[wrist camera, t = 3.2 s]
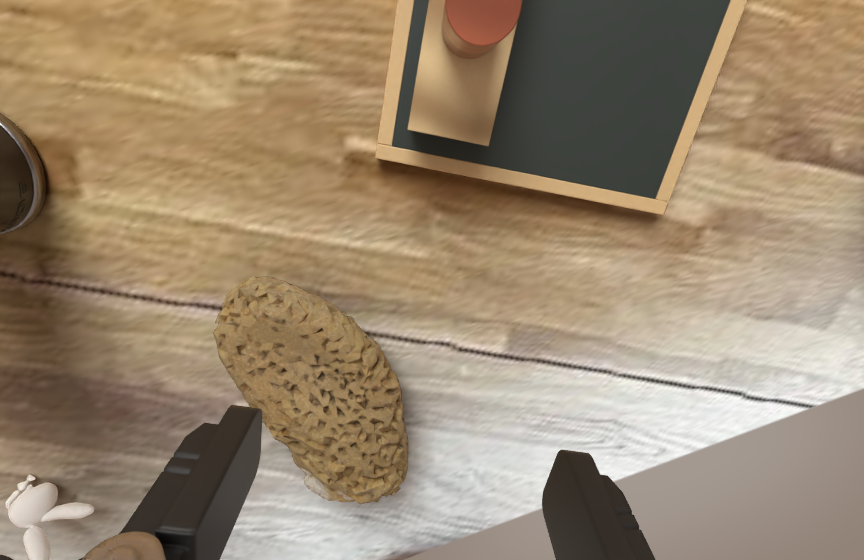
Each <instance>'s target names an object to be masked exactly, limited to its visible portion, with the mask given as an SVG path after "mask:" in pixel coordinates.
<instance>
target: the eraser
mask: <svg viewBox="0 0 864 560" xmlns="http://www.w3.org/2000/svg"><path fill="white" fill-rule="evenodd" d="M521 7H522V0H429V3H428V9H427V15H426V21H425V27H424V33H423V39H422V45H421V52H420V58H419V64H418V70H417V76H416V82H415V88H414V94H413V100H412V106H411V112H410V118H409V124H408V130H411V131H416V132H421V133H426V134H431V135H435V136H440V137H445V138H450V139H455V140H460V141H465V142H470V143H475V144H480V145H485V146H489V142H490V138H491V134H492V129H493V125H494V121H495V116H496V112H497V108H498V103H499V99H500V95H501V91H502V86H503V82H504V78H505V73H506V69H507V65H508V60H509V56H510V52H511V47H512V43H513V39H514V35H515V30H516V26H517V22H518V19H519V16H520V12H521Z"/></svg>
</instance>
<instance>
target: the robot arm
mask: <svg viewBox="0 0 864 560" xmlns="http://www.w3.org/2000/svg"><path fill="white" fill-rule="evenodd" d="M45 196H46V179H45V174H44V170H43V166H42V163H41V161H40V159H39V156H38V155H37V153H36V151H35V149H34V147H33V146H32V144H31V143H30V141H29V140H28V139H27V137H26V136H25V135H24V134H23V133H22V131H21V130H20V129H19V128H18V127H17V126H16V125H15V124H14V123H12V122H11V121H10V120H9V119H8V118H6V117H5V116H4V115H2V114H1V113H0V234H3V233H7V232H10V231H13V230H16V229H19V228H22V227H24V226H26V225H27V224H29V223H30V222H31V221H33V220H34V219H35V218H36V216H37V215H38V214H39V212H40V211H41V209H42V207H43V204H44V201H45ZM261 432H262V410H261V409H259V408H251V407H244V406H236V405H231V406H230V407H229V408H228V410H227V411H226V413H225V415H224V416H223V418H222V420H221V421H220V423H219V424H218V425H217V424H209V423H204V424H202V425H201V426H200V427H198V428H197V429H196V430H194V431H193V432H191V433H190V434H189V435H187V436H186V437H185V439H184V440H183V442H182V443H181V445H180V446H179V447H178V449H177V450H176V452H175V453H174V457H172V458H171V459H170V461H169V462H168V464H167V465H166V467H165V468H164V472H162V473H161V474H160V475H159V477H158V478H157V480H156V481H155V483H154V484H153V486H152V487H151V489H150V490H149V492H148V493H147V495H146V496H145V498H144V499H143V501H142V502H141V504H140V505H139V506H138V508H137V509H136V511H135V512H134V514H133V515H132V517H131V518H130V520H129V521H128V523H127V524H126V526H125V527H124V528H123V530H122V531H121V532H120V533H119V534H118V535H116V536H113V537H111V538H109V539H107V540H105V541H103V542H101V543H100V544H98V545H97V546H96V547H94V548H93V549H92V550H91V551H90V552H88V553H87V554H86V555H85V557H84V558H81V559H78V560H219V559H220V557H221V555H222V552H223V550H224V548H225V546H226V543H227V541H228V539H229V536H230V534H231V532H232V529H233V527H234V525H235V522H236V520H237V518H238V515H239V513H240V511H241V508H242V506H243V504H244V501H245V499H246V497H247V495H248V492H249V490H250V488H251V485H252V483H253V481H254V478H255V475H256V472H257V469H258V465H259V460H260V453H261ZM542 507H543V514H544V518H545V522H546V525H547V529H548V533H549V536H550V540H551V543H552V547H553V550H554V554H555V558H556V560H655V558H654V556H653V554H652V551H651V549H650V547H649V545H648V543H647V541H646V539H645V537H644V535H643V533H642V531H641V530H639V525H638V523H637V521H636V519H635V517H634V515H632V511H631V508H630V506H629V504H628V502H627V500H626V498H625V496H624V494H623V492H622V491H621V490H620V489H619V488H618V487H617V486H616V485H615V483H614V482H613V481H612V480H611V479H610V478H609V477H608V476H605V475H600V473H599V471H598V469H597V467H596V465H595V462H594V460H593V458H592V456H591V455H590V454H589V453H583V452H576V451H568V450H560V451H559V452H558V454H557V456H556V459H555V462H554V464H553V467H552V470H551V472H550V475H549V477H548V480H547V483H546V485H545V488H544V491H543V498H542ZM0 560H13V559H11V558H10V557H7V556H4V555H0Z"/></svg>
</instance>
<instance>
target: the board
mask: <svg viewBox="0 0 864 560" xmlns="http://www.w3.org/2000/svg"><path fill="white" fill-rule="evenodd" d="M746 2H747V0H522V7H521V12H520V16H519V19H518V22H517V26H516V30H515V35H514V39H513V43H512V47H511V52H510V56H509V60H508V65H507V69H506V73H505V78H504V82H503V86H502V91H501V95H500V99H499V103H498V108H497V112H496V116H495V121H494V125H493V129H492V134H491V138H490V142H489V146H485V145H480V144H475V143H470V142H465V141H460V140H455V139H450V138H445V137H440V136H435V135H431V134H426V133H421V132H416V131H411V130H408V124H409V118H410V112H411V106H412V100H413V94H414V88H415V82H416V76H417V70H418V64H419V58H420V52H421V45H422V39H423V33H424V27H425V21H426V15H427V9H428V3H429V0H398V3H397V10H396V17H395V24H394V31H393V38H392V45H391V52H390V59H389V66H388V73H387V80H386V87H385V93H384V100H383V107H382V114H381V121H380V128H379V135H378V144H377V149H376V156H375V158H377V159H382V160H387V161H392V162H397V163H402V164H407V165H412V166H417V167H422V168H427V169H432V170H437V171H442V172H447V173H452V174H457V175H463V176H468V177H473V178H478V179H483V180H488V181H493V182H498V183H503V184H508V185H513V186H518V187H523V188H528V189H533V190H538V191H543V192H548V193H553V194H558V195H563V196H568V197H574V198H579V199H584V200H589V201H594V202H599V203H604V204H609V205H614V206H619V207H624V208H629V209H634V210H639V211H644V212H649V213H654V214H659V215H663V214H664V212H665V209H666V207H667V204H668V202H669V200H670V197H671V194H672V192H673V189H674V187H675V184H676V182H677V179H678V177H679V174H680V171H681V169H682V166H683V164H684V161H685V159H686V156H687V154H688V151H689V148H690V146H691V143H692V141H693V138H694V136H695V133H696V130H697V128H698V125H699V123H700V120H701V118H702V115H703V113H704V110H705V107H706V105H707V102H708V100H709V97H710V95H711V92H712V90H713V87H714V84H715V82H716V79H717V77H718V74H719V72H720V69H721V66H722V64H723V61H724V59H725V56H726V54H727V51H728V49H729V46H730V43H731V41H732V38H733V36H734V33H735V31H736V28H737V26H738V23H739V20H740V18H741V15H742V13H743V10H744V8H745V5H746Z"/></svg>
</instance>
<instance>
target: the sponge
mask: <svg viewBox="0 0 864 560" xmlns="http://www.w3.org/2000/svg"><path fill="white" fill-rule="evenodd" d="M344 314H345V312H339V310H338V309H337V308H336V306H335V305H334V304H332V303H330V302H328V301H326V300H324V299H323V298H322V297H320V296H318V295H312V294H309V293H307V292H305V291H303V290H302V289H300V288H299V287H297V286H293V285H291V284H289V283H287V282H284V281H281V280H278V279H276V278H272V277H255V276H253V275H252V276H251V278H250V279H249V280H248V281H247V282H245V283H243V284H241V285H240V286H238V287H237V288H235V289H234V290H232V291H231V292H230V293H229V294H227V296H226V298H225V300H224V302H223V310H222V311H221V312H220V313H219V314H218V317H217V320H216V322H215V323H219V325H218V326H217V328H216V329H215V330H214V332H213V334H214V337H215V340H216V343H217V349H218V355H219V358H220V359H221V361H222V363H223V365H224V366H225V368H226V370H227V371H228V373H229V374H230V376H231V377H232V379H233V380H234V382H235V384H236V385H237V387H238V389H239V390H240V391H241V392H242V394H243V397H244V399H245V400H246V401H247V403H248V404H249V406H250V407H251V408H259V409H261V410H262V419H263V422H264V423H265V425H266V426H267V428H268V429H269V431H270V432H271V434H272V435H273V437H274V438H275V439H276V440H278V441H281V442H282V443H284V444H285V445H287V446H288V448H289V450H290V451H291V453H292V457H293V460H294V463H295V464H296V465H297V466H298V467H299V468H300V469H301V470H302V471H303V472H304V473H305V476H306V477H305V478H304V484H305V485H306V486H307V487H308V488H309V489H310V490H311V491H313V492H314V493H316V494H318V495H319V496H321V497H322V498H324V499H326V500H328V501H334V500H337V501H340V502H353V501H356V502H358V503H360V504H363V503H368V502H378V501H379V499H380V498H381V497H382V496H388V495H394V494H395V493H396V492H397V491H398V490H399V489H401V488H400V487H399V485H400V484H401V483H402V482H403V481H404V479H405V477H406V473H407V469H408V437H407V434H406V429H405V424H404V410H403V405H402V400H401V389H400V385H399V381H398V378H397V375H396V374H395V373H394V372H393V371H392V369H391V367H390V364H389V362H388V361H387V359H386V357H385V355H384V353H383V351H382V350H381V348H380V347H379V345H378V344H377V343H376V342H375V341H374V340H373V339H372V338H371V337H370V338H367V334H365V333H364V332H363V330H362V329H361V328H360V327H359V326H358V324H357V323H356V322H355V321H354V319H353V318H352V317H349V316H345V315H344Z"/></svg>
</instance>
